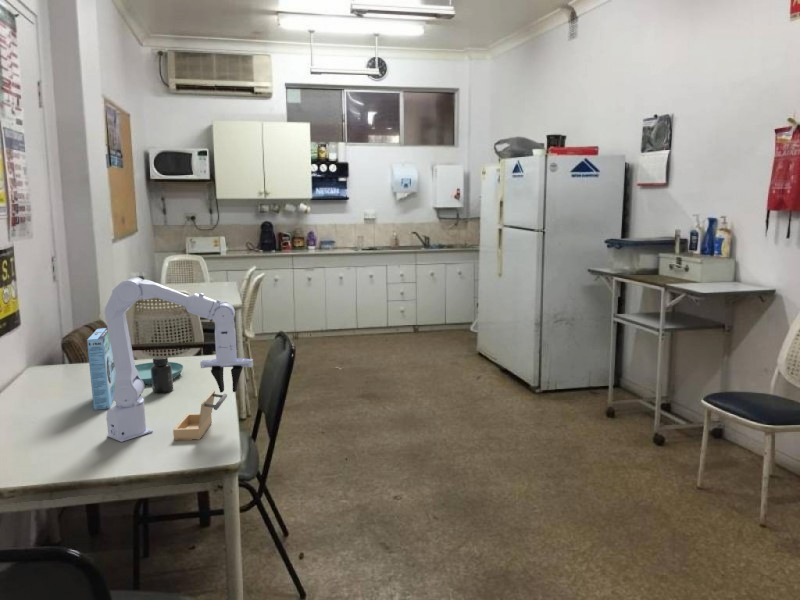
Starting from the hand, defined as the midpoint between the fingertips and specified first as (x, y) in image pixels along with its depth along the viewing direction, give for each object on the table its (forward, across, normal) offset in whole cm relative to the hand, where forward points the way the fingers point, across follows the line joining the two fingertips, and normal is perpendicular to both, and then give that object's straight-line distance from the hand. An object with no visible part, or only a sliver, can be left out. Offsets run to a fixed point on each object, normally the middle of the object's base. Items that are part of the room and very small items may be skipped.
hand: (228, 391), depth 175 cm
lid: (+4, +6, +4) cm, 8 cm away
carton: (+10, +10, +4) cm, 15 cm away
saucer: (+11, +43, -55) cm, 70 cm away
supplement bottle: (+11, +32, -37) cm, 50 cm away
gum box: (+11, +47, -27) cm, 56 cm away
